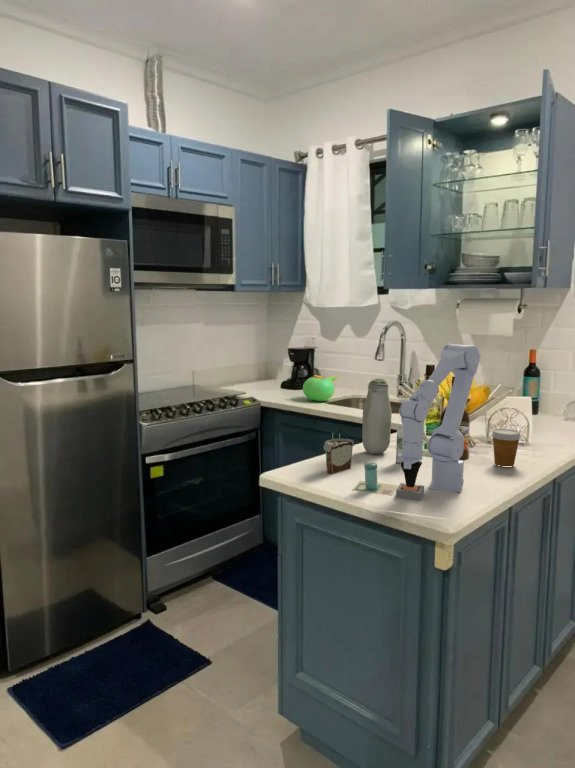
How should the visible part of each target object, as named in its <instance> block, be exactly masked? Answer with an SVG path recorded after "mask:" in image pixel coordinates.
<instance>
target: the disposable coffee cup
mask: <svg viewBox="0 0 575 768" xmlns="http://www.w3.org/2000/svg"><path fill="white" fill-rule="evenodd" d="M491 437H492V442H493V457H494V458H493V459H494V465H495V464H496V465H500V466H513V465H514V466H515V462H516V457H517V453H518V447H519V443H520V442H519V441H520V439H521V437H522V436H521V434H520V431H518V430H514V429H508V428H497V429H495V428H494V429H493V431H492V433H491ZM496 465H495V466H496ZM514 466H513V467H514Z"/></svg>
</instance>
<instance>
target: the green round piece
mask: <svg viewBox="0 0 575 768" xmlns="http://www.w3.org/2000/svg"><path fill="white" fill-rule="evenodd" d="M337 379H339V376H330V377H327V376H321V375H316V374H315V375H313V376H311V377H309V378H307V379H306V380H305V381H304V382H303V385H302V393H303V394H304V395H305V397H306V398H307V399H308V400H310V401H314V402H325V401H327V400H330V399H331V398H332V397H333V396H334V394H335V389H336V388H335V385H334V383H333V381H335V380H337Z"/></svg>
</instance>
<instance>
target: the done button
mask: <svg viewBox="0 0 575 768" xmlns="http://www.w3.org/2000/svg"><path fill="white" fill-rule="evenodd" d="M417 485H418V484H415V486H414V487H407V486H406V483H405V484H404V485H403V490H409V491H417V492H418V486H417Z"/></svg>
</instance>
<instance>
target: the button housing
mask: <svg viewBox="0 0 575 768" xmlns="http://www.w3.org/2000/svg"><path fill="white" fill-rule="evenodd" d="M404 484H406V482H405V483H402V482H400V483H399V484H398V487H397V488H396V490H395V498H396V499H402V500H403V499H404V500H409V501H410V500H412V501H418V502H421V501H422V498H423V497H424V494H425V485H422V484H421V485H420V484H416V485H417V486H418V492H417V491H409V490H403V485H404Z"/></svg>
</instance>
